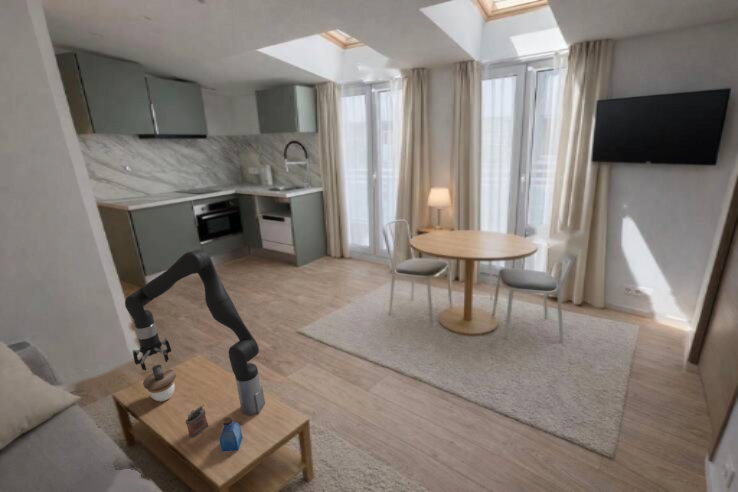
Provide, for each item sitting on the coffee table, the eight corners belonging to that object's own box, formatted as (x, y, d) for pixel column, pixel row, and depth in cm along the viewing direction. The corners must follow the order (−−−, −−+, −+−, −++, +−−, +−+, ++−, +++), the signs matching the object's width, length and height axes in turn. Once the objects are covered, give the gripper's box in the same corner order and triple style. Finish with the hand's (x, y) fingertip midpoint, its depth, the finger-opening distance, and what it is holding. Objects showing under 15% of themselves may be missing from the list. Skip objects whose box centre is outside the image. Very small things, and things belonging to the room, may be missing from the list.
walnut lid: (181, 372, 170) (179, 359, 168) (162, 390, 158) (159, 377, 156) (157, 369, 172) (154, 357, 170) (136, 388, 160) (132, 375, 158)
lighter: (192, 439, 144) (187, 419, 141) (187, 435, 145) (182, 415, 142) (210, 425, 150) (205, 406, 147) (205, 422, 152) (200, 403, 149)
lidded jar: (181, 389, 172) (177, 372, 170) (167, 405, 162) (163, 388, 159) (160, 388, 173) (156, 372, 171) (145, 404, 163) (140, 387, 160)
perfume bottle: (226, 438, 143) (221, 414, 139) (242, 437, 144) (238, 413, 140) (221, 452, 137) (216, 427, 134) (238, 450, 138) (233, 425, 134)
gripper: (163, 324, 165) (170, 355, 170) (127, 336, 156) (136, 368, 161) (167, 330, 159) (175, 362, 164) (130, 343, 150) (139, 376, 155)
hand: (155, 365), depth 162 cm, fingers open, 8 cm apart
